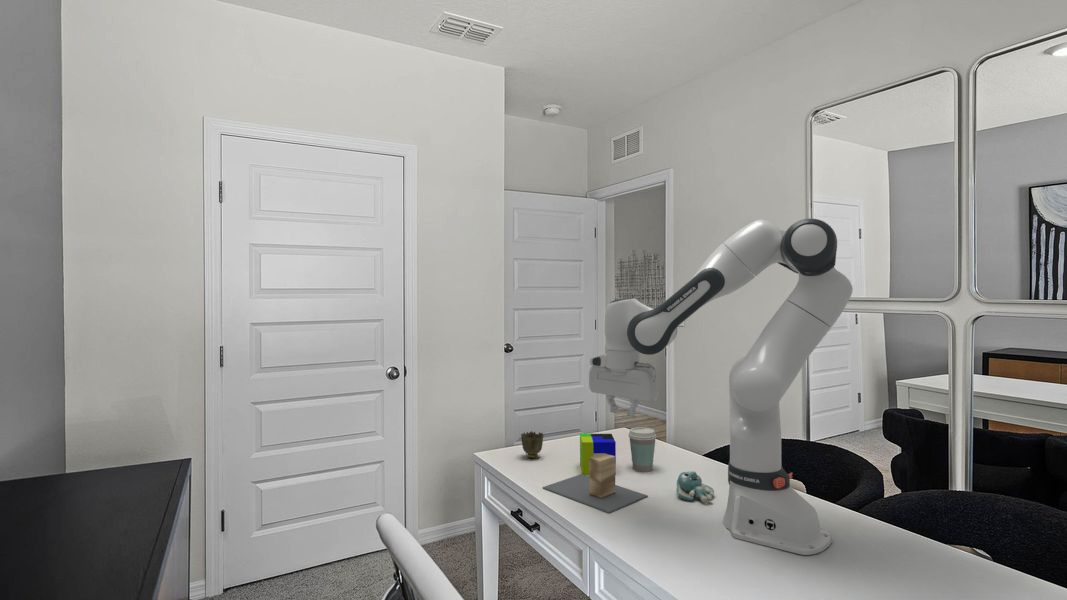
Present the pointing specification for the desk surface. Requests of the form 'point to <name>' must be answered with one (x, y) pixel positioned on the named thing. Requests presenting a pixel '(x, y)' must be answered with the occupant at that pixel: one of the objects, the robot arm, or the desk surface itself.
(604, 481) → the oak block
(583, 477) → the mat
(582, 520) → the desk surface
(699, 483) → the stuffed animal
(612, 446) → the puzzle toy
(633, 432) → the coffee cup
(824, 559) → the desk surface
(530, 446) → the olive cup-shaped piece
